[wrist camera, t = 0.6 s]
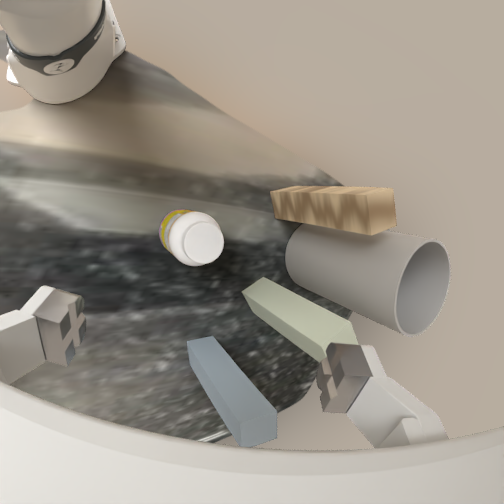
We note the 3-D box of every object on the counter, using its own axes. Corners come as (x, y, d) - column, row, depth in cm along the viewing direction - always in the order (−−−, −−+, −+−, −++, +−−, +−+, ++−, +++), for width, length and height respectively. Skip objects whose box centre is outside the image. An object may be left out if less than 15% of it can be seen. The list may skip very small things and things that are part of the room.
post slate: (186, 341, 51) (239, 423, 31) (212, 335, 53) (277, 411, 33) (190, 364, 52) (242, 450, 32) (215, 358, 54) (277, 438, 34)
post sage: (241, 291, 53) (321, 346, 34) (263, 276, 55) (351, 322, 35) (253, 312, 55) (332, 372, 35) (273, 297, 56) (360, 348, 37)
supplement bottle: (210, 227, 49) (244, 238, 38) (183, 262, 48) (208, 284, 37) (177, 199, 46) (201, 201, 35) (148, 234, 46) (163, 249, 34)
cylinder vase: (334, 286, 62) (439, 329, 40) (278, 288, 56) (384, 343, 34) (343, 222, 60) (456, 242, 38) (287, 215, 55) (405, 235, 32)
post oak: (270, 191, 52) (366, 195, 33) (293, 186, 54) (392, 188, 35) (275, 218, 54) (371, 235, 34) (297, 211, 55) (396, 225, 36)
